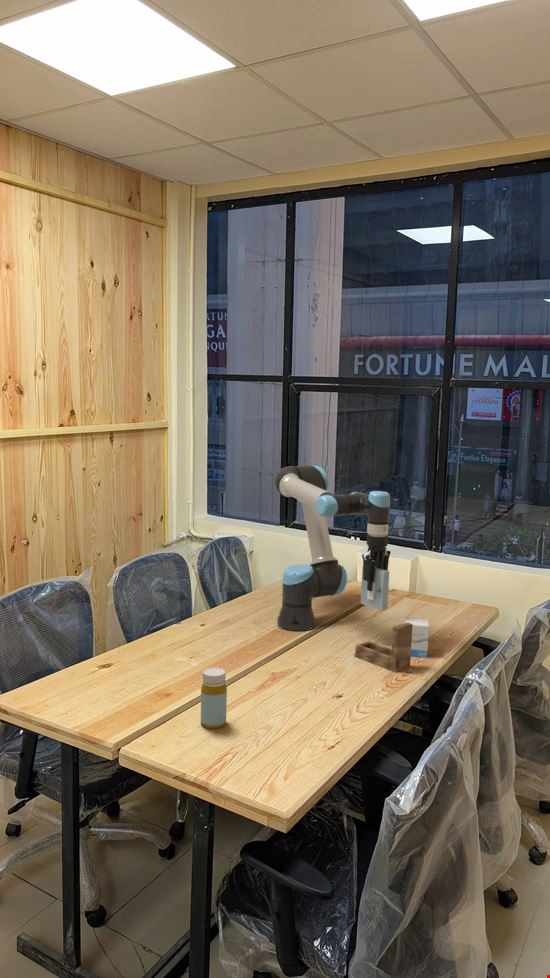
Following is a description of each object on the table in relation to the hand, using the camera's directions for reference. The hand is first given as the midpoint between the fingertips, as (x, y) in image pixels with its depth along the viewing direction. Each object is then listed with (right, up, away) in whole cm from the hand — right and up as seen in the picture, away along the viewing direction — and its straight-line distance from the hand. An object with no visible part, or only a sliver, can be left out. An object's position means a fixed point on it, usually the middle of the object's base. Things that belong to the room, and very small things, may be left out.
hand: (374, 598), depth 256 cm
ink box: (+14, -19, -3) cm, 24 cm away
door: (0, -3, 0) cm, 3 cm away
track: (+1, -20, -13) cm, 24 cm away
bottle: (-53, -25, -62) cm, 85 cm away
